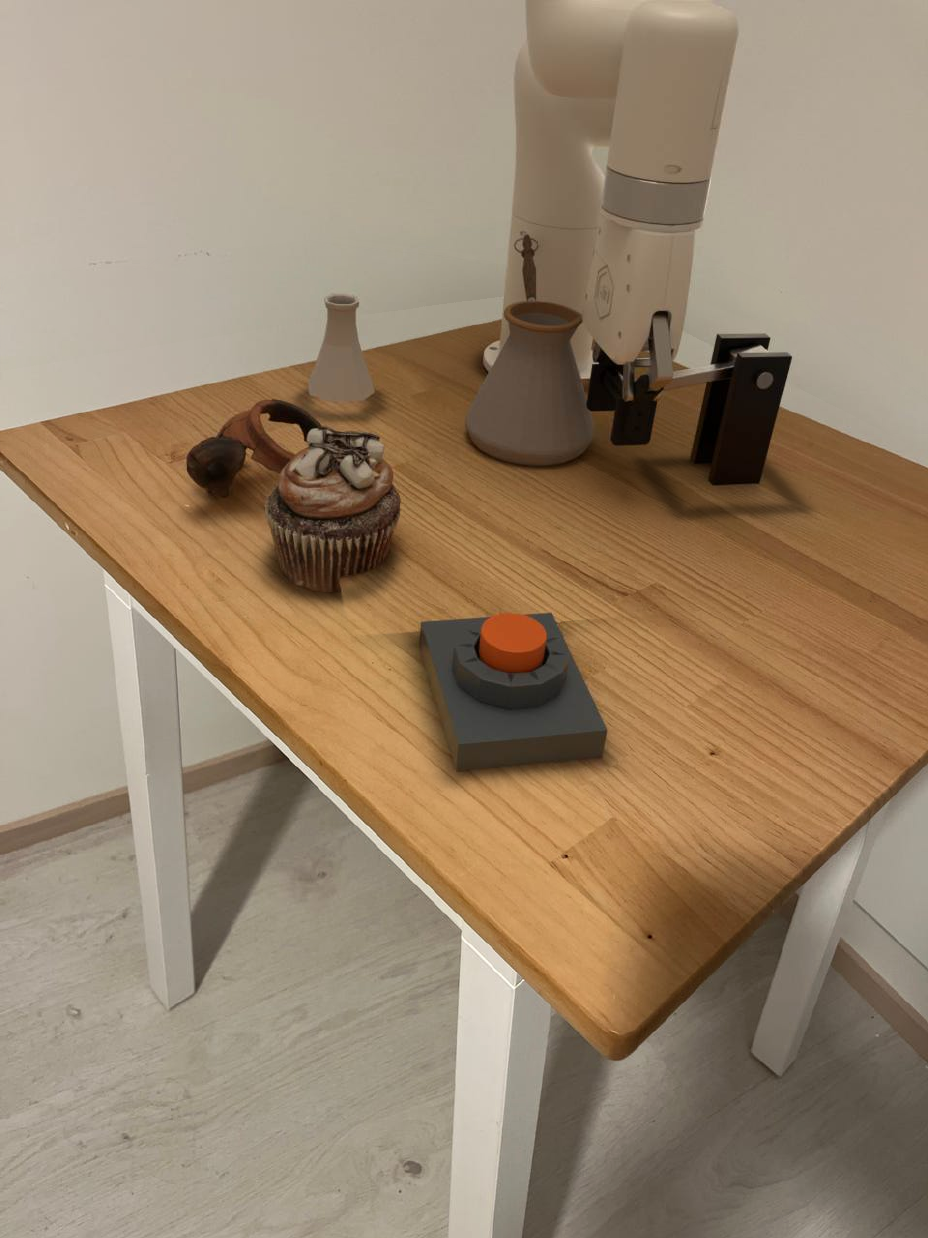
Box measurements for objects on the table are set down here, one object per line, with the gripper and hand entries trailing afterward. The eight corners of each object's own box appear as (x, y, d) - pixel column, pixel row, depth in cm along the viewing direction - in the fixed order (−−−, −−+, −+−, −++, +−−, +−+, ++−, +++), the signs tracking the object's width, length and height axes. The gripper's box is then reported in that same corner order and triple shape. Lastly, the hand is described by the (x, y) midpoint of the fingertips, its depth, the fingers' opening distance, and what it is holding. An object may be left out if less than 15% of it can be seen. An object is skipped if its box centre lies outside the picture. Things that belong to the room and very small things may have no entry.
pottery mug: (254, 454, 93) (299, 384, 89) (315, 535, 91) (364, 468, 87) (142, 466, 84) (185, 389, 79) (207, 557, 82) (256, 483, 77)
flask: (313, 382, 106) (312, 281, 100) (385, 391, 105) (388, 290, 99) (294, 413, 100) (291, 307, 94) (370, 422, 99) (372, 317, 93)
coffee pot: (599, 487, 92) (626, 316, 83) (465, 481, 91) (479, 308, 82) (567, 385, 109) (587, 235, 101) (455, 380, 108) (465, 228, 100)
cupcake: (275, 526, 83) (271, 406, 77) (400, 532, 84) (405, 414, 78) (257, 596, 75) (251, 468, 70) (396, 603, 76) (401, 477, 70)
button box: (419, 647, 72) (422, 598, 69) (547, 638, 74) (554, 590, 71) (455, 772, 62) (460, 720, 60) (602, 757, 64) (612, 706, 62)
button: (472, 637, 67) (474, 614, 66) (533, 633, 68) (537, 610, 67) (487, 677, 64) (489, 654, 63) (551, 672, 65) (554, 649, 64)
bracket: (681, 513, 89) (713, 368, 82) (644, 463, 96) (670, 324, 89) (801, 507, 92) (842, 365, 84) (756, 458, 99) (791, 323, 91)
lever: (621, 420, 85) (621, 392, 83) (599, 391, 89) (599, 364, 88) (779, 390, 86) (781, 362, 85) (750, 363, 91) (752, 336, 89)
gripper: (571, 167, 84) (544, 384, 94) (646, 231, 70) (606, 477, 81) (661, 169, 85) (625, 383, 96) (751, 232, 72) (698, 473, 82)
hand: (617, 424), depth 88 cm, fingers closed on lever, 5 cm apart
